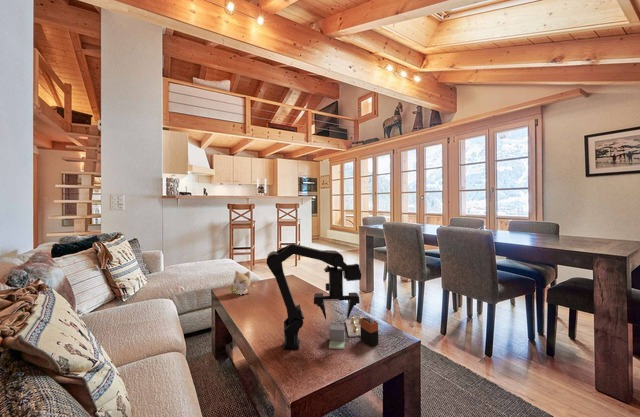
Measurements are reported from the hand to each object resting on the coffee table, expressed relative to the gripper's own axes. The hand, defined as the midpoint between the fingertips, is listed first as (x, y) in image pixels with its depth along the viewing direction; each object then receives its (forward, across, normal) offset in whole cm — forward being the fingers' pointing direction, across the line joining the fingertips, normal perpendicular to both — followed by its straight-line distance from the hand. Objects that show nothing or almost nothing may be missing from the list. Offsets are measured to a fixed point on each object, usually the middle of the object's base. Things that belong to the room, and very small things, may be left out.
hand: (336, 318), depth 112 cm
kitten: (+10, +58, -60) cm, 84 cm away
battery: (+10, -13, +2) cm, 16 cm away
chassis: (+9, -10, -10) cm, 17 cm away
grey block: (+10, 0, 0) cm, 10 cm away
